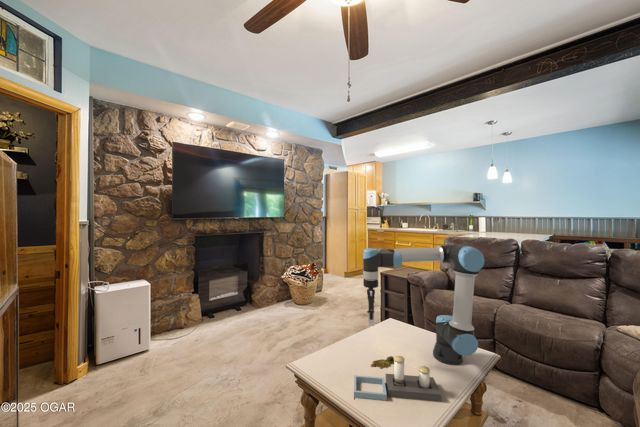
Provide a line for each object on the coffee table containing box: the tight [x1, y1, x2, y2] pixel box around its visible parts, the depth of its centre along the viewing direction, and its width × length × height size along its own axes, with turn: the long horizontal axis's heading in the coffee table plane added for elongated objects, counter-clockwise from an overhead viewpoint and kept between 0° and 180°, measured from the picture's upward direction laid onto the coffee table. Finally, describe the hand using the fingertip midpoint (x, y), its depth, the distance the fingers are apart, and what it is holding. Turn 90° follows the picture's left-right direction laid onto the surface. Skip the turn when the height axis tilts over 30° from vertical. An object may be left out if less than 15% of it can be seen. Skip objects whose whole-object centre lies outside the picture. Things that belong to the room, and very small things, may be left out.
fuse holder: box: [385, 373, 442, 403], centre depth 120 cm, size 22×12×4 cm, turn 82°
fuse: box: [418, 365, 431, 389], centre depth 120 cm, size 5×5×10 cm
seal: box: [370, 356, 394, 370], centre depth 141 cm, size 9×5×15 cm
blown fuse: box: [393, 355, 405, 386], centre depth 121 cm, size 5×5×14 cm
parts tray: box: [353, 375, 388, 401], centre depth 121 cm, size 14×12×3 cm
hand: (371, 320), depth 136 cm, fingers open, 13 cm apart
